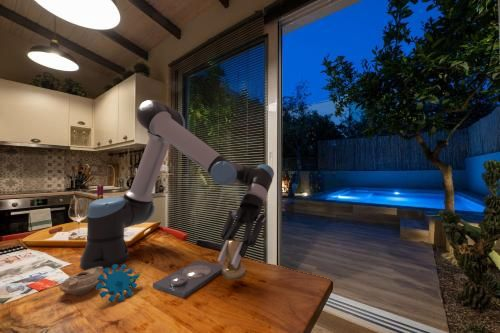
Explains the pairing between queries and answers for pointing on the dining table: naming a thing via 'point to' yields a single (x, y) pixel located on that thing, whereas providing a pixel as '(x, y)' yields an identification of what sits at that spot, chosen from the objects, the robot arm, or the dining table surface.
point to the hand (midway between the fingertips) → (227, 264)
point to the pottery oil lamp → (82, 281)
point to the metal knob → (228, 268)
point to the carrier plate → (188, 278)
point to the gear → (117, 282)
